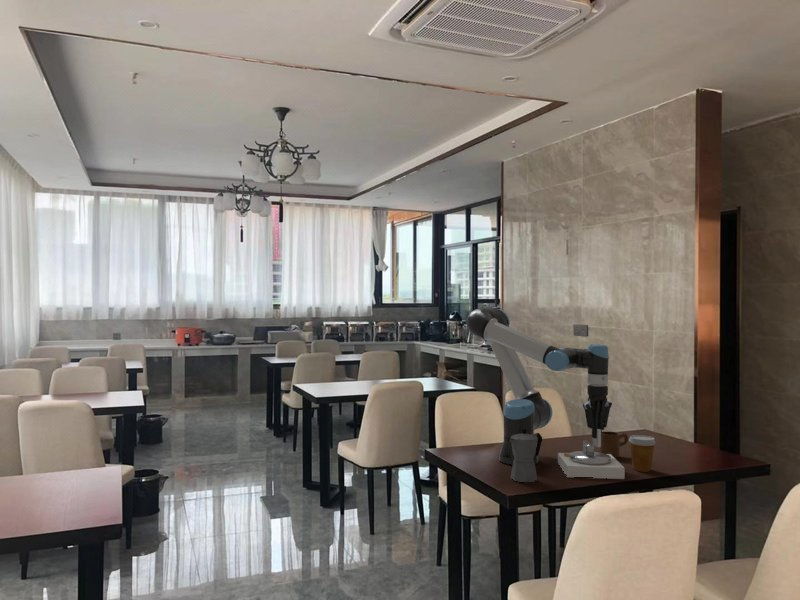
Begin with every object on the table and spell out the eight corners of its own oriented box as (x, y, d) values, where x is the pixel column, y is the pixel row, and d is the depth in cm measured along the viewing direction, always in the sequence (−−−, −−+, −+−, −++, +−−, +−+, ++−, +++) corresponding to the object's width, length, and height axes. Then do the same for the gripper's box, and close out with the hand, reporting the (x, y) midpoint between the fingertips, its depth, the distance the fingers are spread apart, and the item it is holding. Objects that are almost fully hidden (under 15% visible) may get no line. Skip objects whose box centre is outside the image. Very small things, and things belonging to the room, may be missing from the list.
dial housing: (567, 477, 229) (567, 462, 229) (557, 462, 249) (557, 449, 249) (624, 479, 228) (624, 464, 228) (610, 464, 247) (610, 451, 247)
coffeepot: (519, 485, 218) (520, 433, 218) (500, 479, 226) (501, 428, 226) (551, 479, 227) (551, 428, 227) (531, 472, 235) (532, 423, 235)
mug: (622, 453, 266) (622, 430, 266) (633, 457, 259) (633, 434, 259) (596, 454, 263) (596, 431, 263) (606, 459, 256) (606, 435, 256)
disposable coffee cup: (659, 469, 241) (660, 437, 241) (648, 474, 234) (648, 441, 234) (635, 464, 247) (635, 433, 247) (623, 469, 241) (624, 437, 241)
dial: (615, 465, 230) (615, 450, 230) (573, 464, 231) (573, 449, 231) (604, 454, 246) (605, 440, 246) (565, 453, 247) (565, 439, 247)
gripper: (591, 387, 240) (590, 450, 240) (617, 385, 245) (616, 446, 246) (577, 384, 246) (576, 445, 247) (603, 382, 252) (602, 442, 252)
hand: (596, 446), depth 246 cm, fingers closed
